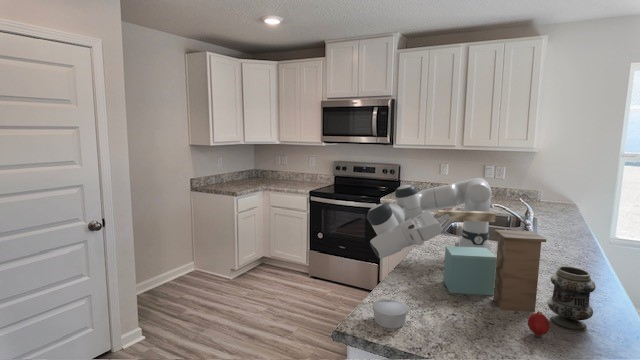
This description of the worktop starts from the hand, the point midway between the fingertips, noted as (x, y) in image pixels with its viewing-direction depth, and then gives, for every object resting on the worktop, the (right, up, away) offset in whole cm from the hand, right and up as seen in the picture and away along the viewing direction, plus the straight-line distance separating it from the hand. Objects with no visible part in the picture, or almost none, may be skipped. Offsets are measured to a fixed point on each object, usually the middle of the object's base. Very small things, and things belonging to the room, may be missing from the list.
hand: (447, 213), depth 130 cm
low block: (+13, -31, +14) cm, 36 cm away
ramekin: (-23, -34, -12) cm, 43 cm away
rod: (+6, -2, 0) cm, 7 cm away
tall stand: (+23, -33, 0) cm, 40 cm away
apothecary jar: (+34, -34, -13) cm, 50 cm away
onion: (+20, -35, -20) cm, 45 cm away
